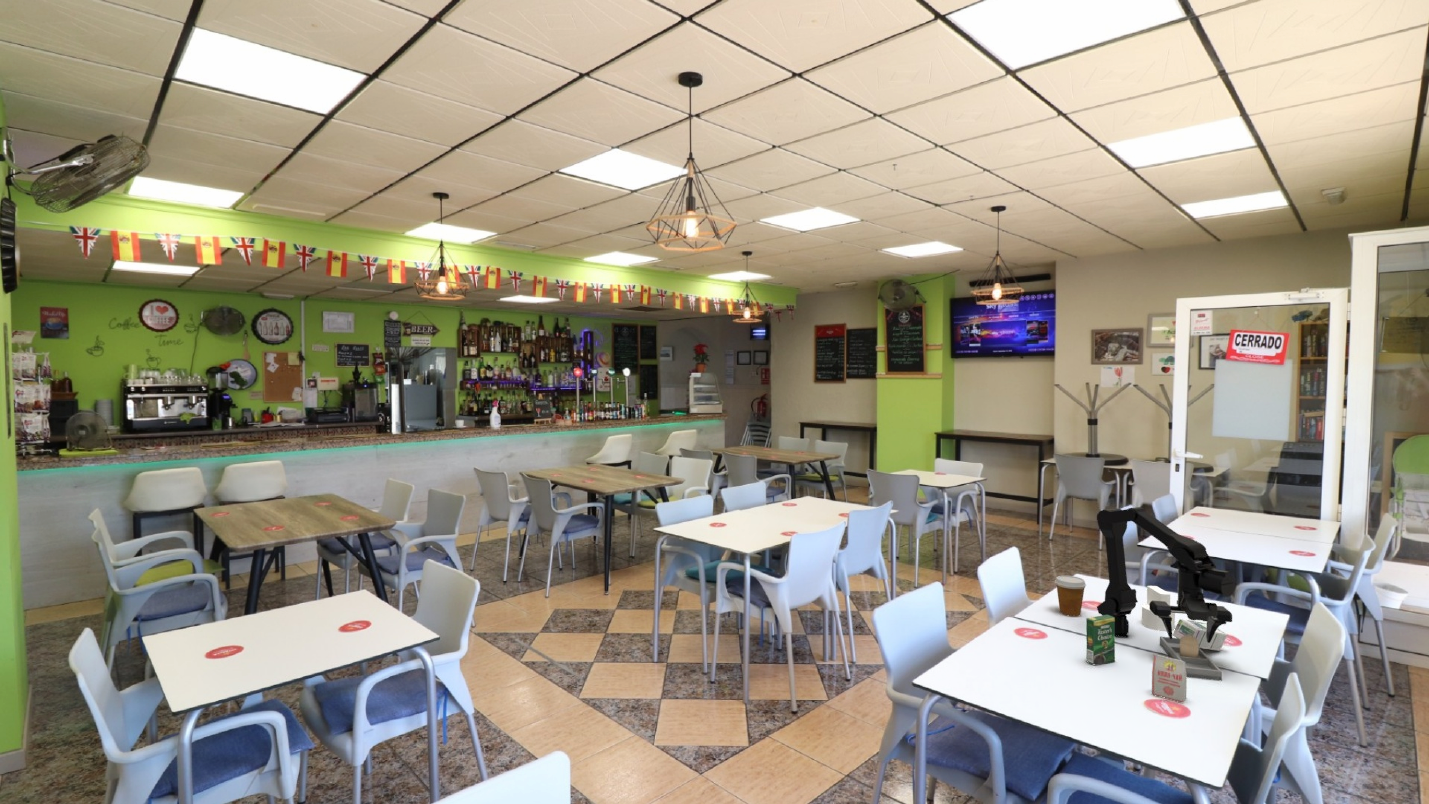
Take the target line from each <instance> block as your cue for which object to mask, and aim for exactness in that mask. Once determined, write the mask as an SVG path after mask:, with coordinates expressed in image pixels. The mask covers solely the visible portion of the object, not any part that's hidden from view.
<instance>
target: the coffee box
mask: <svg viewBox="0 0 1429 804" xmlns="http://www.w3.org/2000/svg"><path fill="white" fill-rule="evenodd" d="M1085 625H1086V628H1085V629H1086V662H1087V661H1088V662H1089V663H1088V662H1087V663H1088V664H1090V663H1091V664H1090V665H1092V664H1099V665H1103V664H1108V663H1109V664H1110V662H1111V663H1114V662H1116V657H1115V656H1116V652H1115V651H1116V649H1115V648H1116V647H1115V646H1116V645H1115V643H1116V641H1115V639H1116V638H1115V637H1116V636H1115V618H1114V617H1112V616H1110V615H1102V614H1101V615H1098V616H1093V617H1092V616H1091V617H1087V618H1086V624H1085Z"/></svg>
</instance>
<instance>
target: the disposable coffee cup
mask: <svg viewBox="0 0 1429 804" xmlns="http://www.w3.org/2000/svg"><path fill="white" fill-rule="evenodd" d="M1054 583H1055V585H1056V591H1057V600H1058V605H1059V613H1060V612H1061V613H1062V614H1061V613H1060V614H1061V615H1063V616H1067V615H1069V616H1068V617H1079V615H1080V616H1081V614H1082V606H1083V601H1084V592H1085V588H1086V586H1087V584H1086V581H1085V580H1084V579H1083V578H1081V577H1078V576H1073V575H1059V576H1056V577H1055V580H1054Z"/></svg>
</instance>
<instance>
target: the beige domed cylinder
mask: <svg viewBox="0 0 1429 804" xmlns="http://www.w3.org/2000/svg"><path fill="white" fill-rule="evenodd" d="M1180 656H1182V657H1191V658H1199V644H1198V641H1197V639H1196V638H1195V637H1193V636H1191V635H1184V636H1182V637H1181V639H1180Z"/></svg>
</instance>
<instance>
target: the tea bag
mask: <svg viewBox="0 0 1429 804" xmlns="http://www.w3.org/2000/svg"><path fill="white" fill-rule="evenodd" d="M1151 670H1152V671H1151V695H1152V694H1153V695H1152V696H1155V695H1156V697H1159V696H1162V697H1165V698H1164V699H1166V698H1168V699H1167V700H1170V699H1172V700H1171V701H1173V700H1175V701H1174V702H1177V701H1178V703H1181V702H1184V703H1185V701H1186V700H1187V684H1188V683H1187V682H1188V681H1187V679H1188V677H1187V674H1186V663H1185V661H1181V660H1177V659H1173V658H1170V657H1169V656H1168V657H1167V656H1163V655H1159V654H1155V653H1153V661H1152V669H1151ZM1162 697H1161V698H1162ZM1185 699H1186V700H1185Z"/></svg>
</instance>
